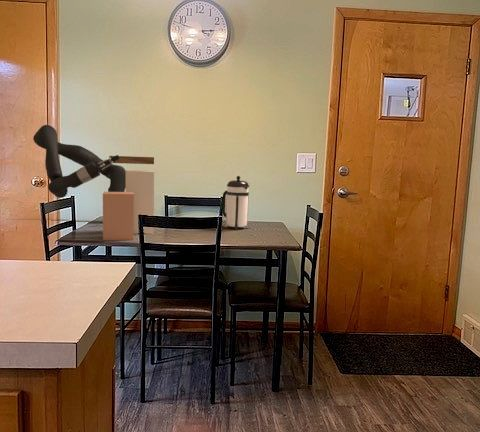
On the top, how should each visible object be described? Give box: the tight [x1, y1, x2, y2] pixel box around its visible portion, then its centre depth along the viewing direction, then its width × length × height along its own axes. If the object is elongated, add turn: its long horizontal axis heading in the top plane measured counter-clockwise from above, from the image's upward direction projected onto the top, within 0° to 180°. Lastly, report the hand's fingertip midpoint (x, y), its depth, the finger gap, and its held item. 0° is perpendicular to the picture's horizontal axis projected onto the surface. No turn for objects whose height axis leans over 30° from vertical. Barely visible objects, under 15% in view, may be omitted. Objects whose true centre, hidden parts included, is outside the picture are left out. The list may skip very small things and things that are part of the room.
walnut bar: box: [108, 155, 155, 165], centre depth 227 cm, size 4×22×4 cm, turn 103°
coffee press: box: [221, 175, 250, 231], centre depth 255 cm, size 17×16×30 cm
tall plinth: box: [125, 169, 155, 235], centre depth 231 cm, size 10×14×32 cm
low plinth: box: [102, 191, 135, 241], centre depth 215 cm, size 10×14×22 cm
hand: (118, 156), depth 225 cm, fingers closed on walnut bar, 3 cm apart
